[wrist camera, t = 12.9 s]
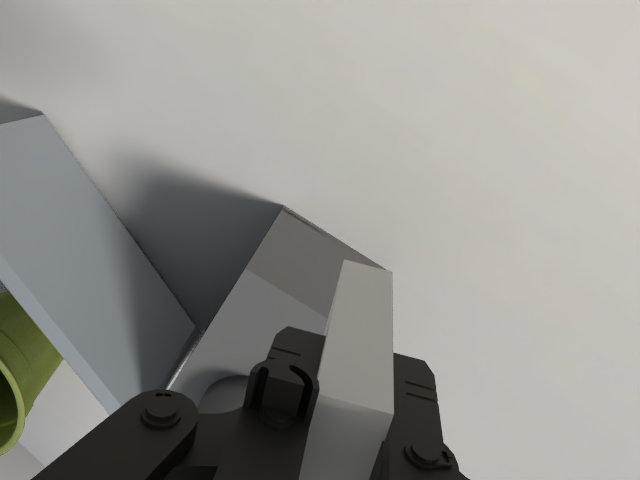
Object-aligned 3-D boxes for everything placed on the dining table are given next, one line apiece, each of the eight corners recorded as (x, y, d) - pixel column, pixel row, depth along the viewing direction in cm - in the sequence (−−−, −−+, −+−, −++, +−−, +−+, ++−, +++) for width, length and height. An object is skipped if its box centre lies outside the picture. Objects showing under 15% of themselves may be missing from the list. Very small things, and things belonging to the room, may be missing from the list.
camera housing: (390, 272, 42) (391, 373, 29) (301, 389, 47) (269, 518, 34) (284, 205, 41) (237, 280, 28) (204, 332, 46) (135, 443, 33)
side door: (45, 113, 40) (-87, 143, 29) (203, 335, 46) (143, 432, 34) (27, 126, 41) (-109, 159, 29) (186, 344, 46) (121, 441, 35)
